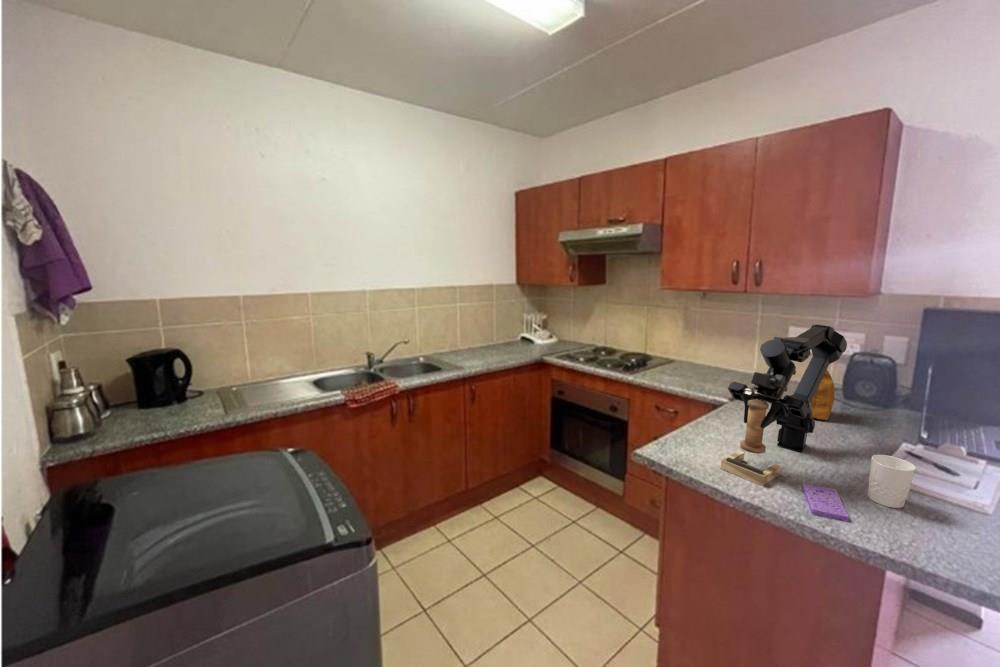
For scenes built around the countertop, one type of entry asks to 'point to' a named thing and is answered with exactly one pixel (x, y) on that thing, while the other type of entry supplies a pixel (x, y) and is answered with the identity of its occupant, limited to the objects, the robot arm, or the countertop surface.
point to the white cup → (890, 480)
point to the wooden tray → (749, 469)
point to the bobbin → (755, 427)
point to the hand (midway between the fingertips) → (753, 425)
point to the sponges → (825, 502)
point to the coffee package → (823, 398)
